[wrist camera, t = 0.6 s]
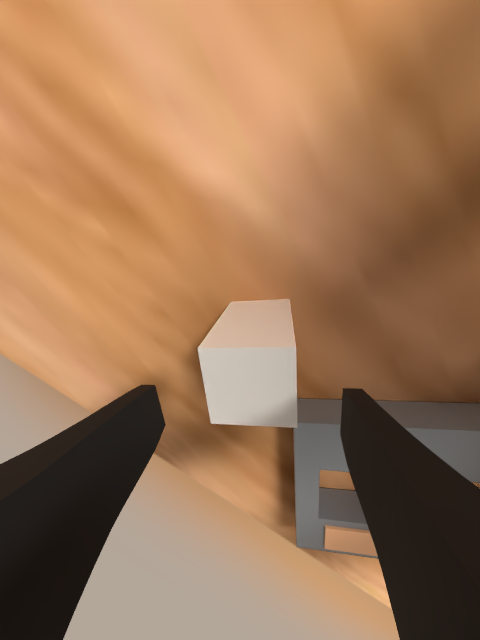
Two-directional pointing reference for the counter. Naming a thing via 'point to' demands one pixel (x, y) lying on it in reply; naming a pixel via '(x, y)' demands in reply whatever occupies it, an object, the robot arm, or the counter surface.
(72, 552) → the robot arm
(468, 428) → the socket board
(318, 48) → the counter surface
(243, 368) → the plug
